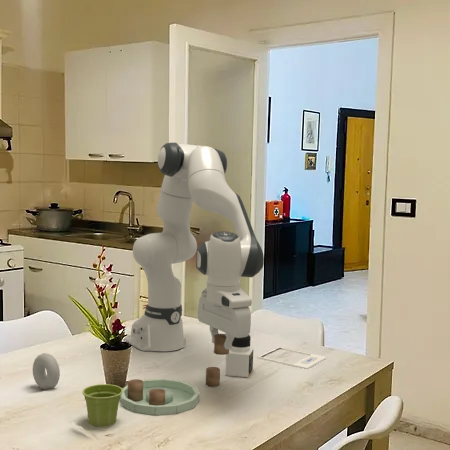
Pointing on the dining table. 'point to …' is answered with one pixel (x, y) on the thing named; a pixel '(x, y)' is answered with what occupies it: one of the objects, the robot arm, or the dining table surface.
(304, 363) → the photo frame
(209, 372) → the wooden cylinder
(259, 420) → the dining table surface
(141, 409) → the tray
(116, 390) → the plant pot
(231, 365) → the medicine bottle
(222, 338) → the loose bead
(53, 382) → the donut
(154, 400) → the seated bead
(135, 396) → the seated bead
